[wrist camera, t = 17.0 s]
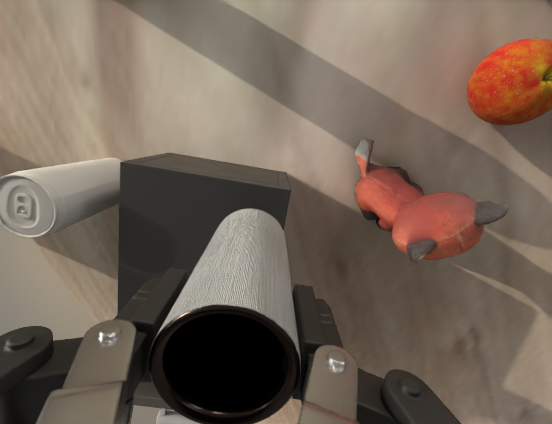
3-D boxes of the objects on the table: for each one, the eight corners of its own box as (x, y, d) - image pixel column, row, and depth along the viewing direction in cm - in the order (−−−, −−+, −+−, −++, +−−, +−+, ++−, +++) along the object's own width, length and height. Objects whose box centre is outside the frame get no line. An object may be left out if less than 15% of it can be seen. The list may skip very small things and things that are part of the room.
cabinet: (264, 290, 35) (261, 349, 25) (161, 274, 34) (117, 329, 24) (286, 172, 31) (291, 189, 21) (168, 152, 30) (119, 161, 20)
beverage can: (92, 193, 31) (-15, 229, 20) (97, 151, 30) (-15, 163, 18) (135, 205, 32) (55, 247, 20) (142, 164, 30) (60, 183, 19)
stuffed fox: (380, 119, 29) (450, 110, 18) (436, 199, 31) (531, 237, 20) (323, 166, 30) (353, 186, 19) (381, 239, 33) (439, 297, 21)
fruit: (466, 138, 30) (533, 140, 22) (440, 78, 28) (503, 57, 20) (530, 102, 29) (623, 90, 21) (507, 36, 27) (600, -2, 19)
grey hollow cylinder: (216, 204, 17) (142, 300, 8) (288, 210, 18) (310, 310, 8) (214, 270, 19) (150, 426, 9) (282, 275, 19) (293, 433, 9)
